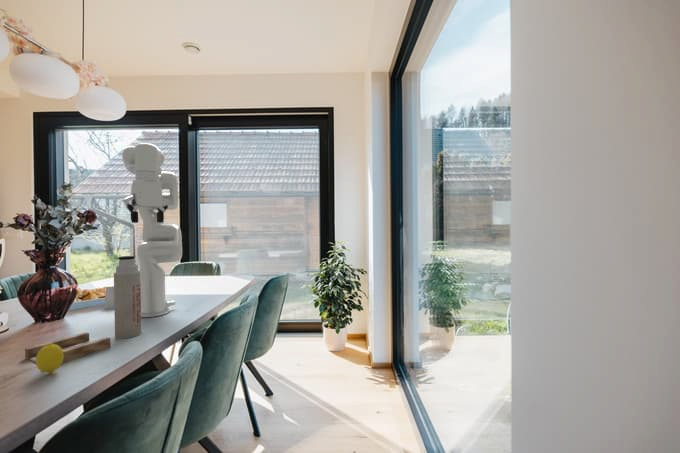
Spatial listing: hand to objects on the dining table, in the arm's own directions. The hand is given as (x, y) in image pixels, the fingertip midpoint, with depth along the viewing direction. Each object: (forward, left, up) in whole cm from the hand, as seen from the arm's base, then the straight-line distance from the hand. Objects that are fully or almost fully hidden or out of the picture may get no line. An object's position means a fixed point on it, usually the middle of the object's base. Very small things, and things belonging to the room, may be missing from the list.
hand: (147, 222), depth 127 cm
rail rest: (+27, +1, -40) cm, 48 cm away
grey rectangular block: (-13, -45, -40) cm, 62 cm away
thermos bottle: (+9, +1, -40) cm, 41 cm away
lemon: (+37, +13, -40) cm, 56 cm away
